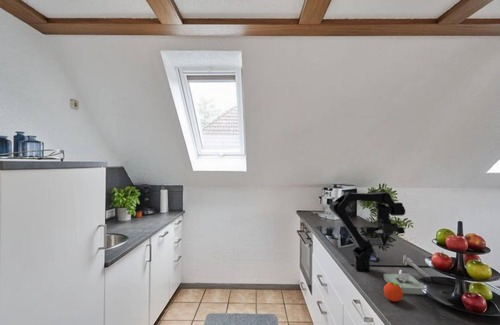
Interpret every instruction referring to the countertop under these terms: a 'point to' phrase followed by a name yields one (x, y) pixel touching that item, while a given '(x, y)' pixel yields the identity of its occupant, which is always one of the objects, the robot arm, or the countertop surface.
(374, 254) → the snack package
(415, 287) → the jig
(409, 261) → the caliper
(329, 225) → the countertop surface
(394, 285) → the clementine
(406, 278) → the bushing
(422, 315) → the countertop surface
